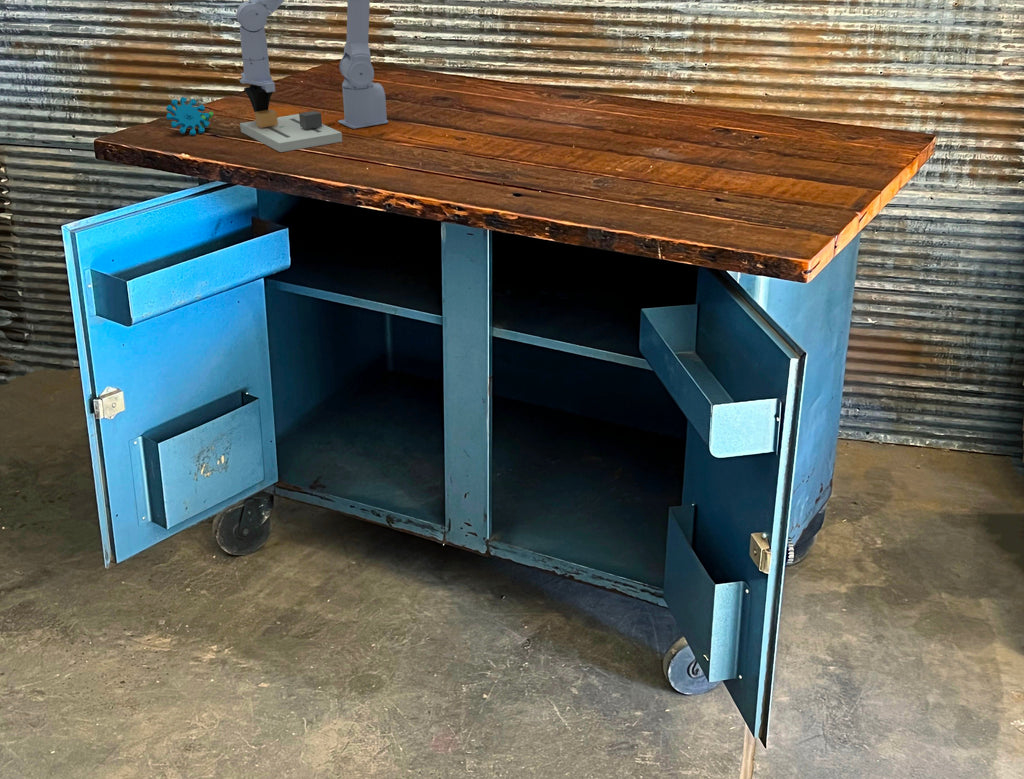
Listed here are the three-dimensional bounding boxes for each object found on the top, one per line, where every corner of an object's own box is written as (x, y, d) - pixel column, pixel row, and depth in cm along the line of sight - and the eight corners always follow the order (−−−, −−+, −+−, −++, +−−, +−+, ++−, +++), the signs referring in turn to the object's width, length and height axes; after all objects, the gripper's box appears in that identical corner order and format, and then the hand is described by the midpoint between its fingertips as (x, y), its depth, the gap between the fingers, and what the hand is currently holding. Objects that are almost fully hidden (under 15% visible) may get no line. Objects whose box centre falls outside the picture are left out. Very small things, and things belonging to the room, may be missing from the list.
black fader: (316, 123, 281) (315, 110, 280) (322, 126, 279) (321, 113, 278) (300, 126, 279) (299, 113, 278) (305, 129, 277) (304, 115, 276)
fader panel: (300, 122, 293) (299, 113, 292) (342, 141, 276) (341, 132, 275) (241, 131, 285) (240, 123, 285) (280, 152, 269) (279, 143, 268)
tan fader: (272, 122, 283) (271, 109, 282) (277, 124, 281) (276, 111, 280) (256, 125, 281) (254, 111, 280) (261, 127, 279) (260, 114, 278)
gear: (172, 132, 279) (162, 95, 282) (166, 146, 284) (156, 110, 287) (219, 131, 285) (209, 95, 288) (213, 146, 290) (203, 110, 293)
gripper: (226, 55, 280) (233, 114, 286) (251, 65, 269) (258, 127, 275) (255, 51, 284) (261, 110, 290) (281, 61, 273) (287, 122, 279)
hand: (261, 118), depth 283 cm, fingers closed
